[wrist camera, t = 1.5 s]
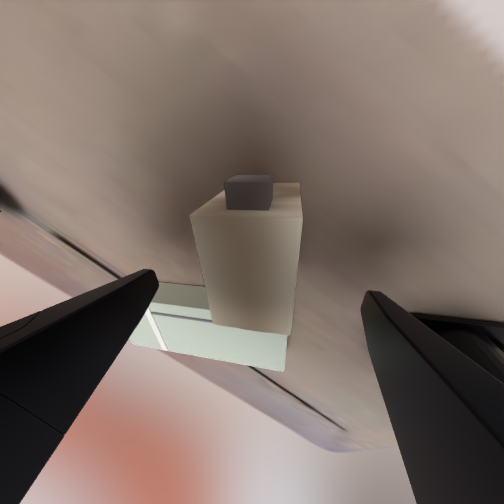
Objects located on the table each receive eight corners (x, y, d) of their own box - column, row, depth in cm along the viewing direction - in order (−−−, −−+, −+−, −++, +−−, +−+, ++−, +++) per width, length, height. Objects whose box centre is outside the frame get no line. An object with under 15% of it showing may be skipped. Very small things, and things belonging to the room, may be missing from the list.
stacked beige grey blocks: (301, 163, 11) (306, 186, 6) (291, 276, 15) (289, 348, 10) (232, 165, 11) (182, 186, 6) (241, 271, 15) (215, 336, 10)
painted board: (289, 295, 16) (288, 321, 13) (285, 346, 19) (284, 373, 17) (125, 278, 19) (102, 296, 16) (148, 325, 22) (132, 345, 20)
